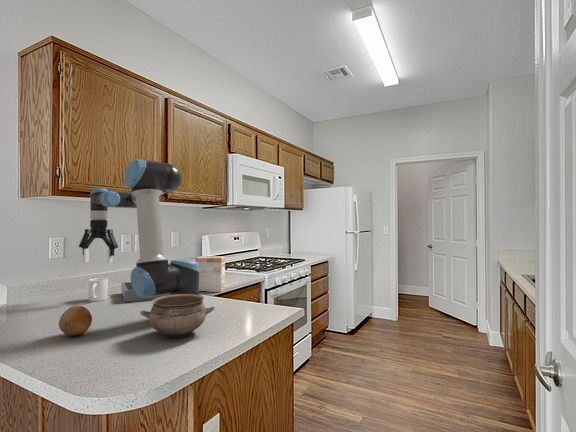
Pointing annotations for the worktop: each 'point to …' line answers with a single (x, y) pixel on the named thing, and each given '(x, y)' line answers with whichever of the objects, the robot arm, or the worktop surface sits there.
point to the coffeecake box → (211, 273)
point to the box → (134, 294)
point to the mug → (98, 289)
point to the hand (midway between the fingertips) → (98, 262)
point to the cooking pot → (177, 314)
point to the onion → (75, 321)
